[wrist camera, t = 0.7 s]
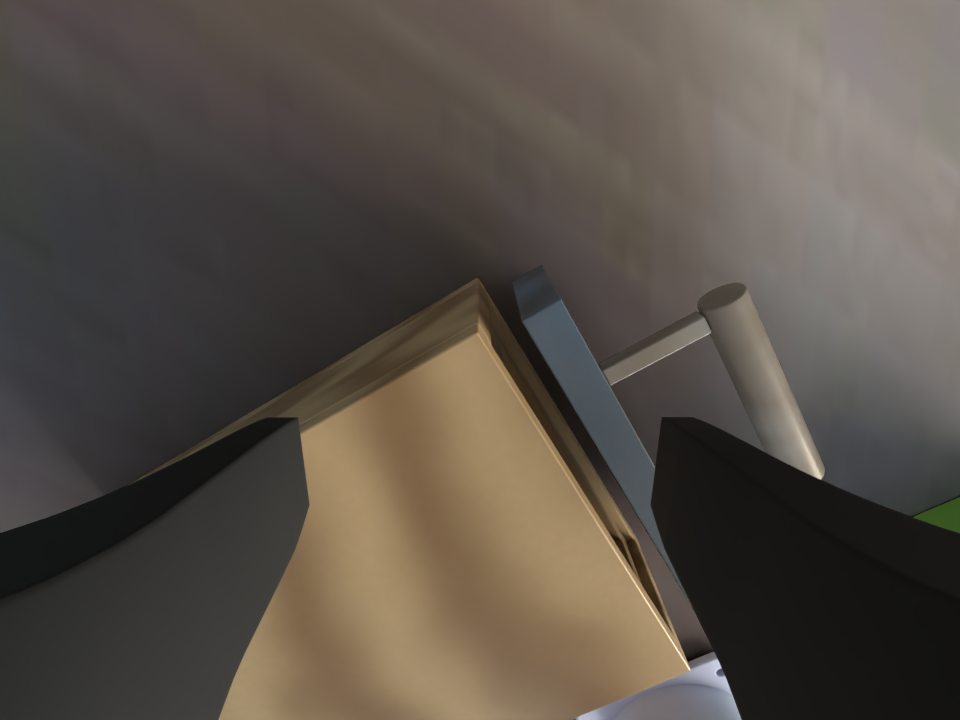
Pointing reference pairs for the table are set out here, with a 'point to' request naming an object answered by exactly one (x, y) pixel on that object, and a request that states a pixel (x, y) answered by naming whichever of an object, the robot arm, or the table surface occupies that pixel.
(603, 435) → the drawer
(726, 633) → the robot arm
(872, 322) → the table surface
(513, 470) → the cabinet
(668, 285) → the table surface
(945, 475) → the table surface
